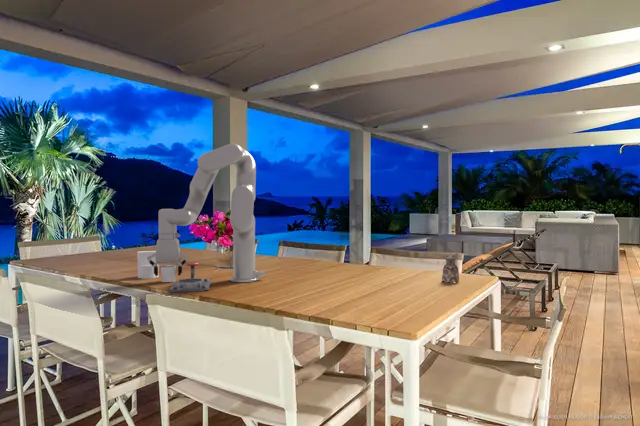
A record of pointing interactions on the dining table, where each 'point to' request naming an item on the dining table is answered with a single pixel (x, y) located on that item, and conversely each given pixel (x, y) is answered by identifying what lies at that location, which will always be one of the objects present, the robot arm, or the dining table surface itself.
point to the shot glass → (168, 273)
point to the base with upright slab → (145, 265)
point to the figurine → (450, 270)
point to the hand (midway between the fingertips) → (168, 275)
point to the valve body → (191, 282)
